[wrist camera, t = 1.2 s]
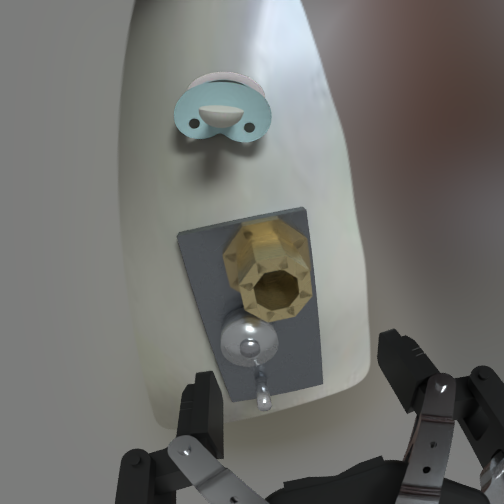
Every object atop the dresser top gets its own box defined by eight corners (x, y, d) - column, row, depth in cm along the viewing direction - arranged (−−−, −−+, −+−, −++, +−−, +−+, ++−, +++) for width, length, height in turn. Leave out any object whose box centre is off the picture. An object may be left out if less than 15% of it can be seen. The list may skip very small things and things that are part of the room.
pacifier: (185, 72, 20) (177, 138, 22) (171, 47, 15) (159, 134, 16) (272, 78, 21) (265, 145, 23) (285, 55, 15) (276, 142, 17)
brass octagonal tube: (217, 227, 24) (213, 254, 18) (300, 210, 24) (321, 231, 18) (235, 300, 26) (236, 340, 21) (310, 284, 26) (329, 320, 21)
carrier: (179, 232, 25) (167, 253, 20) (302, 206, 25) (320, 222, 20) (232, 395, 33) (233, 427, 28) (320, 377, 33) (331, 408, 28)
